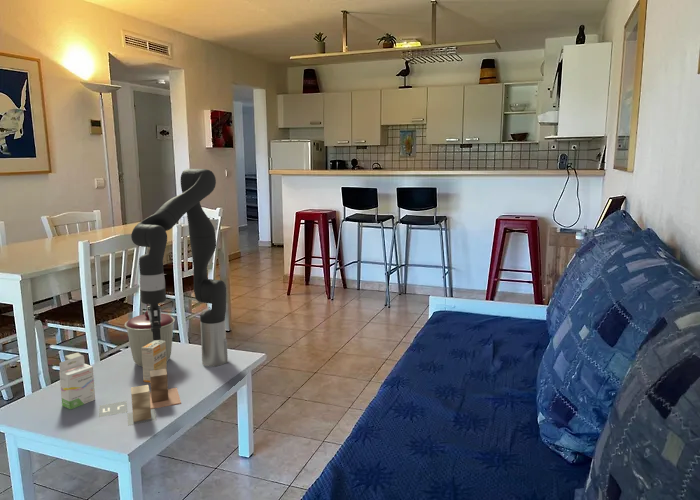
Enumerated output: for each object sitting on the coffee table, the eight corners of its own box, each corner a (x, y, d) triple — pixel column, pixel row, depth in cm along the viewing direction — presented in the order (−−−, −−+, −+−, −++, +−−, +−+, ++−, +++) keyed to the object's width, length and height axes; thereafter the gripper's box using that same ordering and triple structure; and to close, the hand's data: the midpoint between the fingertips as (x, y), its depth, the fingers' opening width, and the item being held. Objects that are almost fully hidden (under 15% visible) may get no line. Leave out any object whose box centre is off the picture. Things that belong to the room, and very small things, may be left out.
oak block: (150, 411, 158) (148, 384, 156) (151, 418, 153) (149, 391, 152) (132, 414, 156) (130, 387, 154) (133, 422, 151) (131, 394, 150)
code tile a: (126, 401, 164) (126, 400, 164) (127, 412, 157) (127, 411, 157) (99, 405, 161) (99, 405, 161) (98, 417, 154) (98, 417, 154)
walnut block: (167, 393, 169) (165, 368, 167) (168, 400, 165) (167, 374, 163) (151, 396, 167) (149, 371, 165) (152, 403, 163) (150, 376, 161)
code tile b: (154, 408, 160) (154, 408, 160) (156, 420, 153) (156, 420, 153) (127, 413, 156) (127, 413, 156) (128, 425, 149) (128, 425, 149)
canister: (164, 372, 187) (160, 318, 183) (117, 370, 188) (113, 316, 184) (184, 354, 204) (182, 304, 200) (142, 352, 206) (138, 302, 202)
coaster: (176, 388, 174) (176, 387, 174) (181, 403, 163) (181, 402, 163) (139, 395, 169) (139, 393, 169) (141, 411, 158) (141, 409, 158)
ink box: (70, 410, 158) (66, 366, 156) (61, 406, 161) (57, 362, 158) (96, 399, 165) (92, 357, 163) (87, 395, 168) (84, 354, 165)
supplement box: (155, 383, 178) (153, 348, 175) (143, 382, 178) (140, 347, 176) (168, 374, 185) (166, 340, 183) (156, 372, 186) (154, 339, 184)
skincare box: (88, 390, 172) (85, 356, 170) (74, 394, 169) (71, 360, 167) (81, 384, 176) (78, 351, 174) (67, 388, 173) (64, 355, 171)
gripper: (167, 291, 155) (170, 341, 157) (163, 280, 167) (166, 327, 170) (141, 293, 151) (144, 344, 154) (138, 283, 164) (142, 330, 167)
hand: (155, 335), depth 162 cm, fingers open, 8 cm apart
